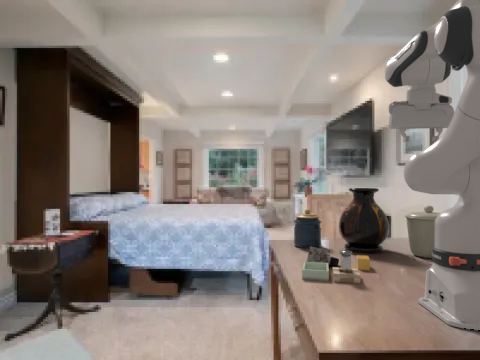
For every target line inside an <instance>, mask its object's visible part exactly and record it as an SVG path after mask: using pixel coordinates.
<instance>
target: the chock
mask: <svg viewBox="0 0 480 360" xmlns="http://www.w3.org/2000/svg"><path fill="white" fill-rule="evenodd" d="M355 260H356V262H355V263H356V264H355V265H356V269H358V270H359V271H371V259H370V257H369V255H363V254H362V255H360V254H357V255H356V259H355Z"/></svg>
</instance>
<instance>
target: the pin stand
mask: <svg viewBox="0 0 480 360" xmlns="http://www.w3.org/2000/svg"><path fill="white" fill-rule="evenodd" d="M332 281H333V282H334V283H336V282H337V283H338V282H339V283H353V284H361V273H360V270H358V268H356V267H355V268H354V267H353V268H352V267H351V273H343V272H341V267H338V266H332Z"/></svg>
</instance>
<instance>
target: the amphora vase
mask: <svg viewBox="0 0 480 360" xmlns="http://www.w3.org/2000/svg"><path fill="white" fill-rule="evenodd" d="M348 191H349V192H351V193H352V195H353V199H352V200H351V202H350V203H349V204H348V205H347V206H346V207H345V208H344V209H343V210H342V213H341V215H340V218H339V222H338V232H339V235H340V236H341V238H342V239H343V240H344V241H345V242H346V243H344V248H345V250H349V251H352V253H353V252H354V253H360V254H361V253H362V254H375V253H380V252H382V251H383V250H384V247H383V246H382V245H381V244H383V243H384V242H385V241H386V239H387V238H388V237H389V235H390V225H389V220H388V217H387V215H386V213H385V211H384V210H383V209H382V207H381V206H379V204H378V203H377V202H376V201H375V199H374V198H375V193H378V192H379V191H380V190H379V188H377V187H350V188H348Z"/></svg>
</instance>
